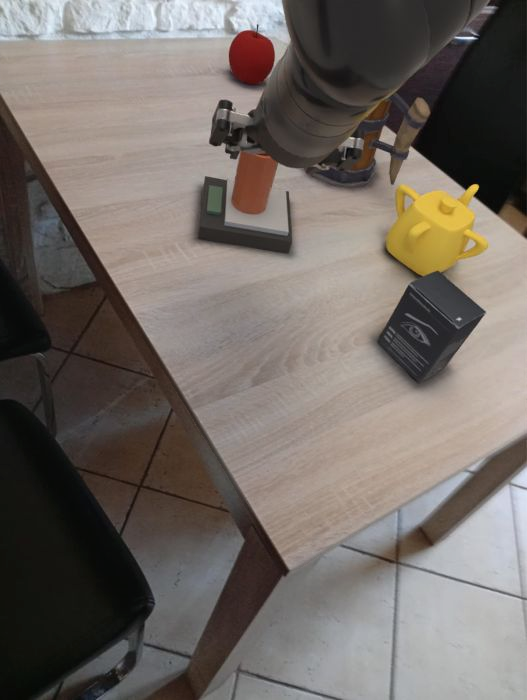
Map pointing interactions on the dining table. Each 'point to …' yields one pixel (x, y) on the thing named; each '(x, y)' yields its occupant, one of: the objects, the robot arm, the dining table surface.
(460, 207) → the teapot
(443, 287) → the box
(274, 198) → the scale
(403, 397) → the dining table surface
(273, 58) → the apple
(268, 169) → the cup
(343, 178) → the mug
